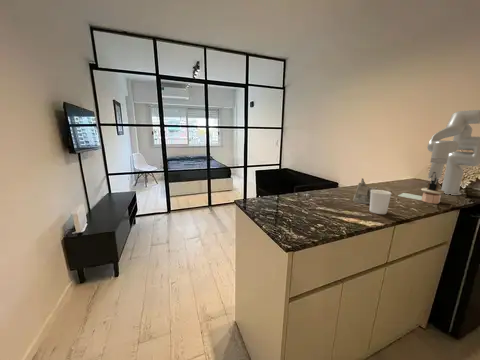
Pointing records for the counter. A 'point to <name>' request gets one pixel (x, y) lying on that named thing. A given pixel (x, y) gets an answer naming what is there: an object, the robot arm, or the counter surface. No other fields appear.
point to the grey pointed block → (363, 193)
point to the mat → (411, 196)
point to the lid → (433, 190)
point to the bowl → (431, 197)
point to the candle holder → (379, 201)
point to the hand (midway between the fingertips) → (432, 189)
